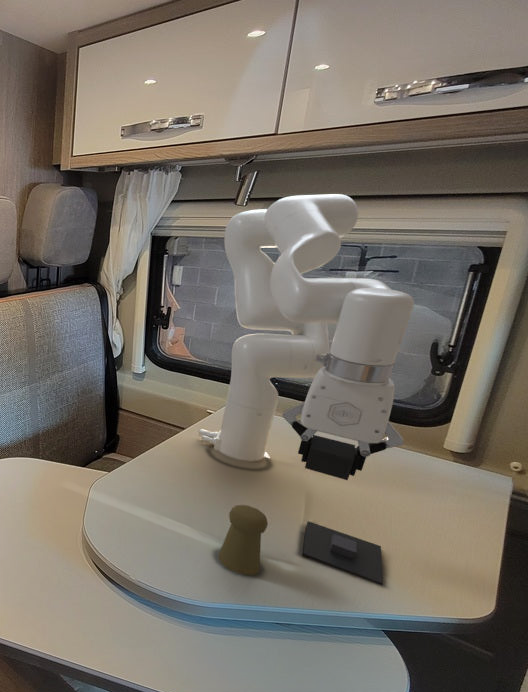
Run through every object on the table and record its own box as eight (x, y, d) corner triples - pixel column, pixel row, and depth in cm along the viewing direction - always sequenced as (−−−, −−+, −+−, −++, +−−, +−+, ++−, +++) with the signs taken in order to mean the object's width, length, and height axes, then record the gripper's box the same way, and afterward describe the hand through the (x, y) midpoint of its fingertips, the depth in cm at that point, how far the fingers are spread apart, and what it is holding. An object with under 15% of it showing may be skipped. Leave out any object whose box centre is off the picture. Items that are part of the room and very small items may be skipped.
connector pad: (304, 468, 77) (310, 448, 76) (307, 453, 81) (313, 434, 80) (347, 480, 74) (354, 459, 73) (348, 464, 78) (355, 444, 76)
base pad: (301, 557, 79) (305, 546, 78) (306, 525, 85) (309, 514, 85) (380, 588, 72) (385, 576, 71) (379, 550, 79) (383, 539, 78)
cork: (252, 557, 79) (265, 503, 76) (264, 582, 74) (278, 525, 71) (213, 550, 81) (223, 496, 78) (222, 574, 76) (233, 517, 73)
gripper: (286, 363, 74) (263, 457, 80) (440, 390, 63) (398, 496, 69) (291, 350, 79) (269, 439, 86) (434, 372, 68) (396, 473, 75)
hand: (327, 464), depth 77 cm, fingers closed on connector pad, 5 cm apart
